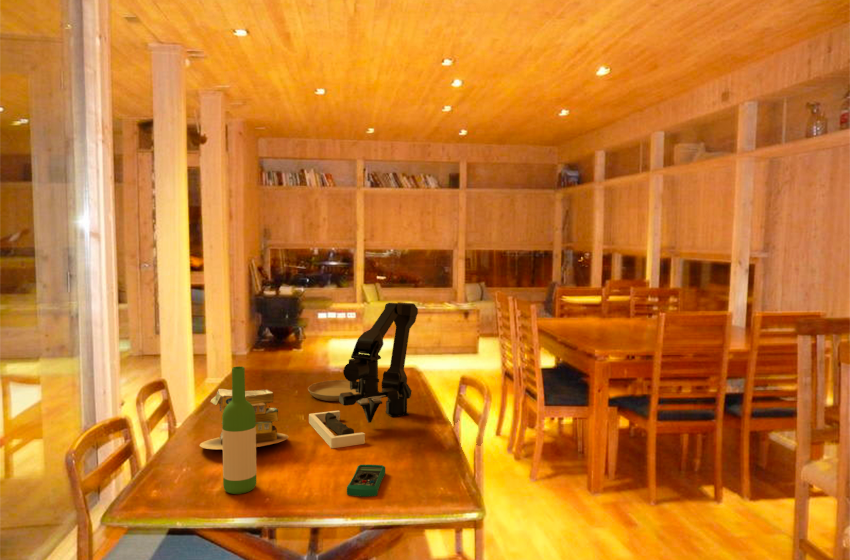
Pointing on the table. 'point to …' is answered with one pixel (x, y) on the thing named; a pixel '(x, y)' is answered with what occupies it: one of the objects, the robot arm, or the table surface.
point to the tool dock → (328, 437)
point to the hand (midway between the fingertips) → (369, 422)
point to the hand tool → (337, 425)
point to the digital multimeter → (366, 480)
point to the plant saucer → (330, 389)
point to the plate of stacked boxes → (263, 417)
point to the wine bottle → (239, 439)
